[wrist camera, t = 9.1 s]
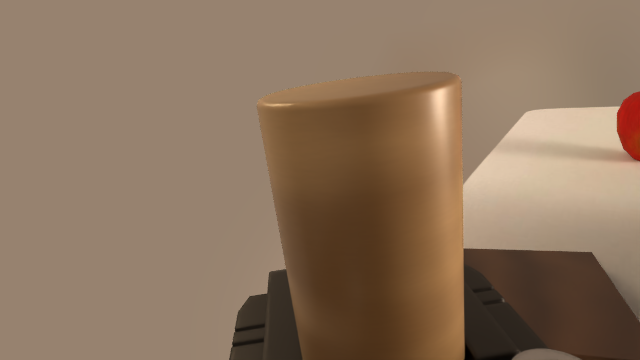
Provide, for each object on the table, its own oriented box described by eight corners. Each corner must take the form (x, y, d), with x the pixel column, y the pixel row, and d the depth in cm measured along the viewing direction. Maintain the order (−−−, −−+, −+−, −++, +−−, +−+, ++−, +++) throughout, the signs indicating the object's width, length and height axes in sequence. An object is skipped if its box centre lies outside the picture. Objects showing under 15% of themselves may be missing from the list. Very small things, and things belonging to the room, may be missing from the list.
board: (440, 359, 29) (439, 340, 29) (440, 261, 42) (440, 247, 41) (664, 385, 25) (668, 363, 24) (590, 268, 38) (591, 251, 37)
